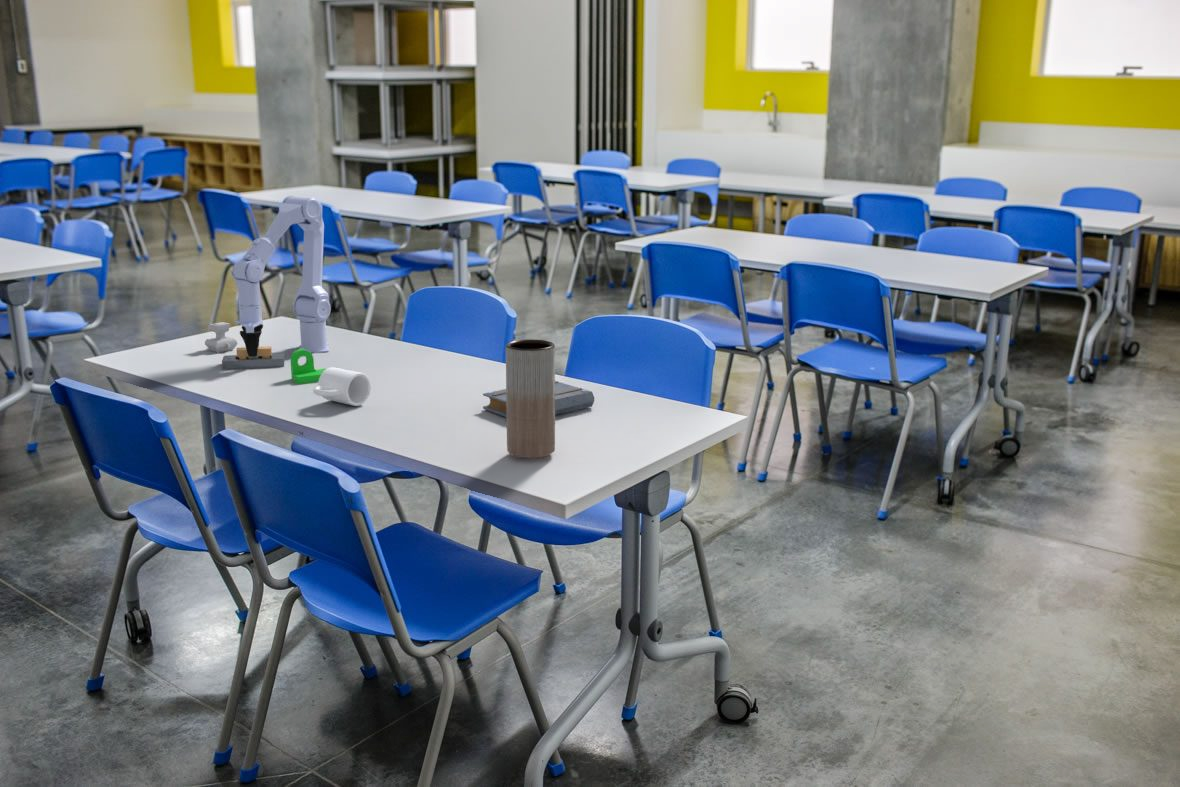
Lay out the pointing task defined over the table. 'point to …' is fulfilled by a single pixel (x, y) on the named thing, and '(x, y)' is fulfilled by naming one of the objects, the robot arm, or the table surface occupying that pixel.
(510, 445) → the planter
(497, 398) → the book
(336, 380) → the mug
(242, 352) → the tan wooden block
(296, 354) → the mechanical part
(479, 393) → the table surface
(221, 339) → the stamp
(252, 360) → the grey flat block
